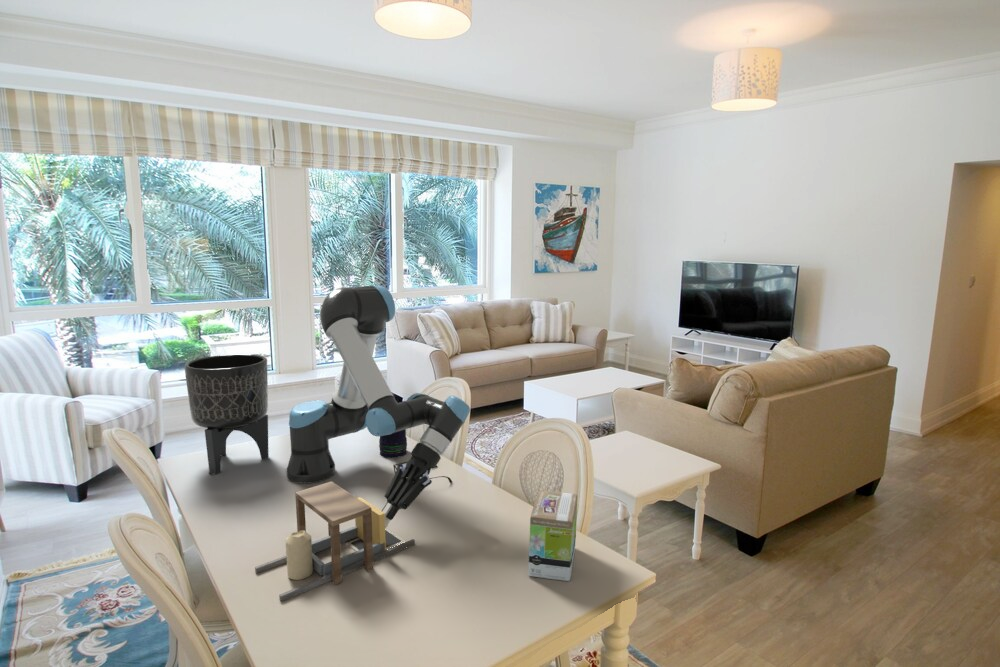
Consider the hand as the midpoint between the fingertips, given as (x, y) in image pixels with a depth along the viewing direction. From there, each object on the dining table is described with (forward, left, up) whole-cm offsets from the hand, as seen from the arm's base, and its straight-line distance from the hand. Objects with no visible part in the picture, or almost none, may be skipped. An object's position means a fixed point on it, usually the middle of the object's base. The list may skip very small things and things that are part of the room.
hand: (378, 528), depth 143 cm
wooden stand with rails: (0, -12, -4) cm, 12 cm away
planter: (-80, -9, -4) cm, 81 cm away
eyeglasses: (-25, +31, -5) cm, 41 cm away
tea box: (+36, +26, -4) cm, 44 cm away
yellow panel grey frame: (0, -9, -3) cm, 10 cm away
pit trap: (0, 0, -4) cm, 4 cm away
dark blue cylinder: (-50, +36, -4) cm, 62 cm away
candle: (0, -20, -4) cm, 21 cm away
